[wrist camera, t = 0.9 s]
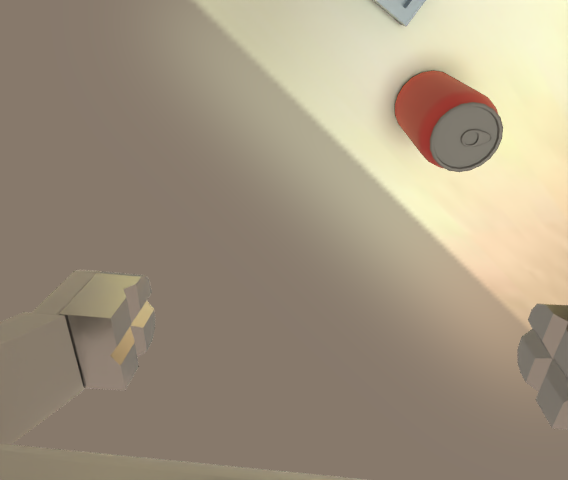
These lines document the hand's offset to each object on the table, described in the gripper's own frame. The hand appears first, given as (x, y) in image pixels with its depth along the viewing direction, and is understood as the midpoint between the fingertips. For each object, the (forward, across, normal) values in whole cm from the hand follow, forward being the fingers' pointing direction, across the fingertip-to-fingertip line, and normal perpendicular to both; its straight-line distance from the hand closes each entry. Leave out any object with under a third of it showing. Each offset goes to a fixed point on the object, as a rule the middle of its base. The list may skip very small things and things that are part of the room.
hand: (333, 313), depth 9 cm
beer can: (+39, -10, +1) cm, 40 cm away
